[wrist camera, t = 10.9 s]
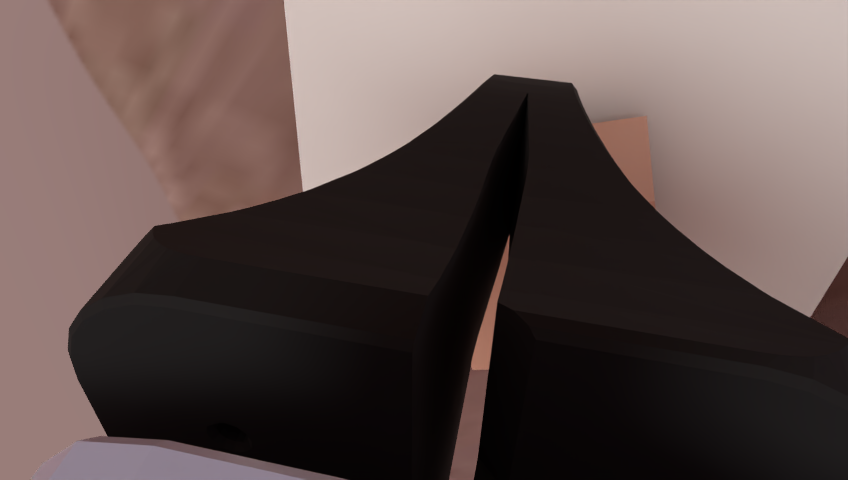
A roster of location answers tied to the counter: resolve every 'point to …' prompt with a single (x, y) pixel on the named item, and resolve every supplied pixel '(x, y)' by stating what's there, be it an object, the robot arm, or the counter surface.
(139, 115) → the counter surface
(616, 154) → the tan brick
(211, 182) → the counter surface
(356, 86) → the post board
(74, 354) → the robot arm
